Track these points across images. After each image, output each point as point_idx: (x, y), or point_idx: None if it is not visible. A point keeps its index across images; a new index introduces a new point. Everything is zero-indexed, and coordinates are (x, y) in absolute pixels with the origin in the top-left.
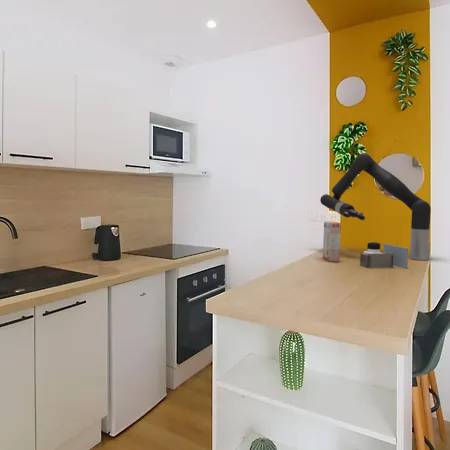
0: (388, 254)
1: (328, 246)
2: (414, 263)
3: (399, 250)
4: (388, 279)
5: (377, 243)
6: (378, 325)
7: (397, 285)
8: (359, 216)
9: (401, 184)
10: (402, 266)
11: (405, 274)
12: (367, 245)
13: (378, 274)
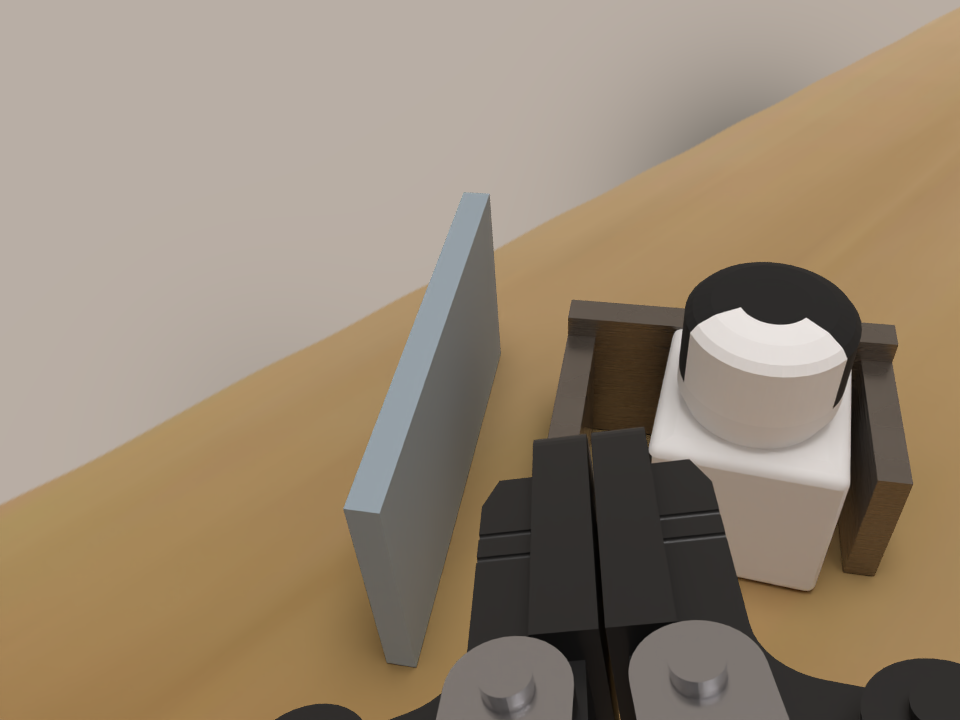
0: (635, 312)
1: None
2: (112, 522)
3: (470, 289)
4: (922, 162)
5: (761, 263)
6: None
7: (950, 86)
8: (725, 554)
9: None
10: (492, 369)
11: (685, 226)
12: (849, 368)
13: (909, 255)
